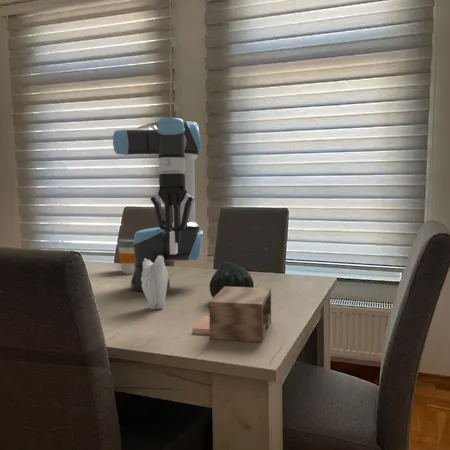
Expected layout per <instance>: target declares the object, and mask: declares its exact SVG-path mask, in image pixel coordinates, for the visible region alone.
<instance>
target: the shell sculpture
mask: <svg viewBox="0 0 450 450" xmlns="http://www.w3.org/2000/svg"><path fill="white" fill-rule="evenodd" d="M144 260H145V261H143V271H142V277H141V281H142V289H143V291H144V292H143V293H144V296H145V298H146V300H147V303H148V308H149V309H150V310H162V309H163V308H164V307H165V305H166V304H165V303H166V297H167V296H166V294H167V291H168V288H167V283H168V278H169V273H168V272H169V271H168V269H167V266H166V265H164V258H163V256H158V257H157V259H156V260H155V263H152V262H151V261H150V260H147V259H146V258H144ZM160 273H161V274H160ZM150 280H151V281H150Z"/></svg>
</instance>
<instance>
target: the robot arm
mask: <svg viewBox="0 0 450 450" xmlns="http://www.w3.org/2000/svg"><path fill="white" fill-rule="evenodd" d="M112 146H113V151H114V154H116V155H124V156H128V155H132V156H133V155H158V171H159V172H160V173H159V175H158V183H159V184H158V187H159V189H158V192H157V194H156V195H155V196H151V197H150V201H151V202H152V204H153V207H154V210H155V214H156V218H157V221H158V225H159V227H151V228H150V227H149V228H145V229H141V230H138V231H136V232H135V233H134V236H133V238H134V257H135V270H134V274H132V277H131V281H130V289H131V290H133V291H135V292H143V293H144V291H143V289H142V281H141V277H142V271H143V261H145V260H144V258H146V259H147V260H150V261H151V262H152V263H155V260H156V259H157V257H158V256H163V258H164V265H165V264H166V263H165V262H172V261H173V262H174V261H175V262H176V261H179V262H180V261H186V262H189V261H197V260H199V259H200V257H201V254H202V253H201V252H202V245H203V237H204V231H203V230H202V229H200V225H199V224H198V222H197V221H196V187H195V186H196V181H195V178H196V176H195V175H196V174H195V171H196V169H195V167H196V166H195V161H196V160H197V159H198V158H199V153H200V152H202V151H203V149H202V142H201V135H200V128H199V124H198V123H197V122H195V121H187V120H185V121H184V120H183V119H182V118H177V117H163V118H160V119H159V120H158V121H156V122H150V123H147V124H142V125H139V127H137V128H135V129H116V130H115V131H114V132H113V135H112ZM161 202H162V203H164V209H165V213H164V211H163V207H162V203H161ZM164 215H165V216H164ZM165 266H166V265H165ZM160 274H161V273H160ZM150 281H151V280H150ZM170 281H171V280H170V278H169V277H168V283H167V289H169V288H170V287H171V285H170V284H171V283H170Z"/></svg>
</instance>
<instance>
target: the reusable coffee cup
mask: <svg viewBox="0 0 450 450" xmlns="http://www.w3.org/2000/svg"><path fill="white" fill-rule="evenodd" d="M117 247H118V257H119V263H120V264H121V270H122V273H123V274H124V273H126V275H133V274H134V270H135V257H134V237H131V238H130V237H128V238H121V239H118V240H117Z"/></svg>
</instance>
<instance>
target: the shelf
mask: <svg viewBox="0 0 450 450" xmlns="http://www.w3.org/2000/svg"><path fill="white" fill-rule="evenodd" d="M208 302H209V303H208V306H209V307H208V308H209V309H208V310H209V311H208V313H209V314H208V316H209V317H210V335H209V339H210V338H211V339H210V340H220V339H228V340H227V341H235V340H243V341H242V342H250V341H260V342H259V343H263V342H264V340H263V339H265V337H266V335H267V334H266V330H267V329H268V328H269V327H270V325H271V323H272V288H271V287H254V288H253V287H228V286H224V287H223V288H222V289H221V290H220V291H219V292H218V293H217V295H216V296H215V297H214V298H213V297H212V298H211V300H209V301H208ZM266 328H267V329H266ZM269 329H270V328H269ZM262 341H263V342H262Z"/></svg>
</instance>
